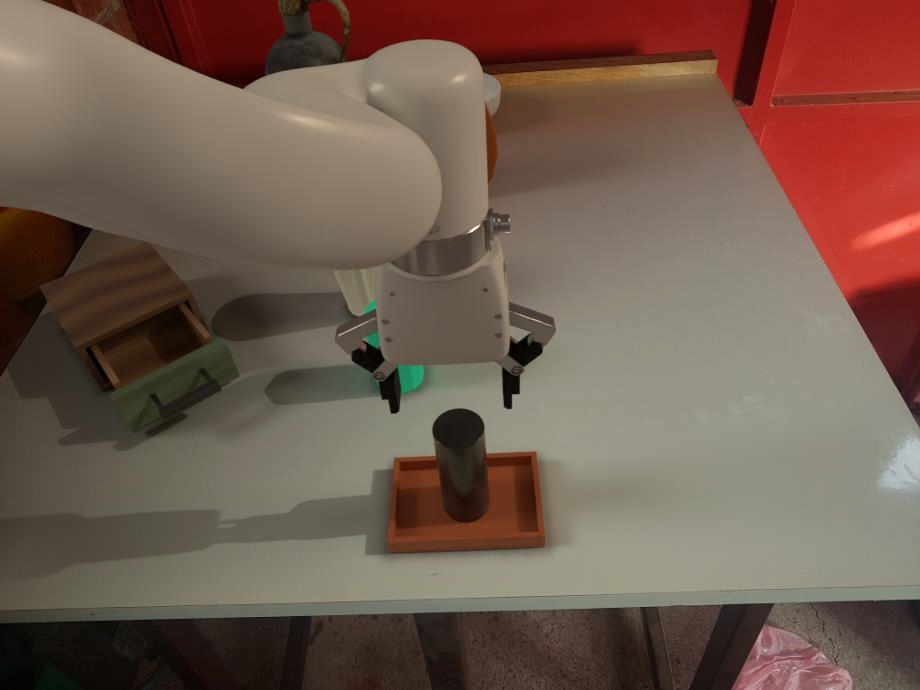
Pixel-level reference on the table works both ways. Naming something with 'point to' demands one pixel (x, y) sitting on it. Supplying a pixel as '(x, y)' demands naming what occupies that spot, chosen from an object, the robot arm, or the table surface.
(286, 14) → the pitcher
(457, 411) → the cylinder
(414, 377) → the candle
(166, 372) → the drawer
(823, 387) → the table surface
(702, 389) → the table surface
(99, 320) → the cabinet
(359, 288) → the cup
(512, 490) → the tray
